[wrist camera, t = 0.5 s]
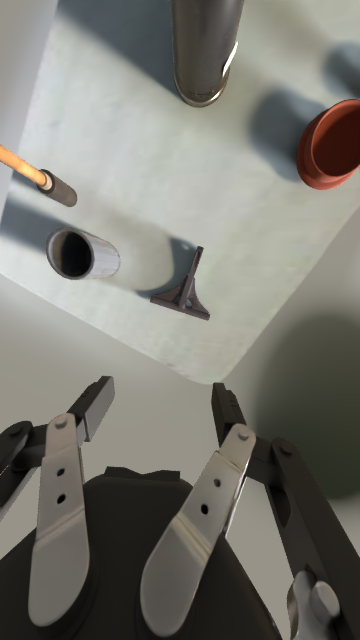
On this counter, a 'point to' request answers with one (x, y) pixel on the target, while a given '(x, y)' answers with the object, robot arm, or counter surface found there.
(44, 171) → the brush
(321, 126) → the pottery
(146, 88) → the counter surface
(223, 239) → the counter surface
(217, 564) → the robot arm
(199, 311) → the bracket
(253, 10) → the counter surface
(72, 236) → the grey metal cup
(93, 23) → the counter surface
